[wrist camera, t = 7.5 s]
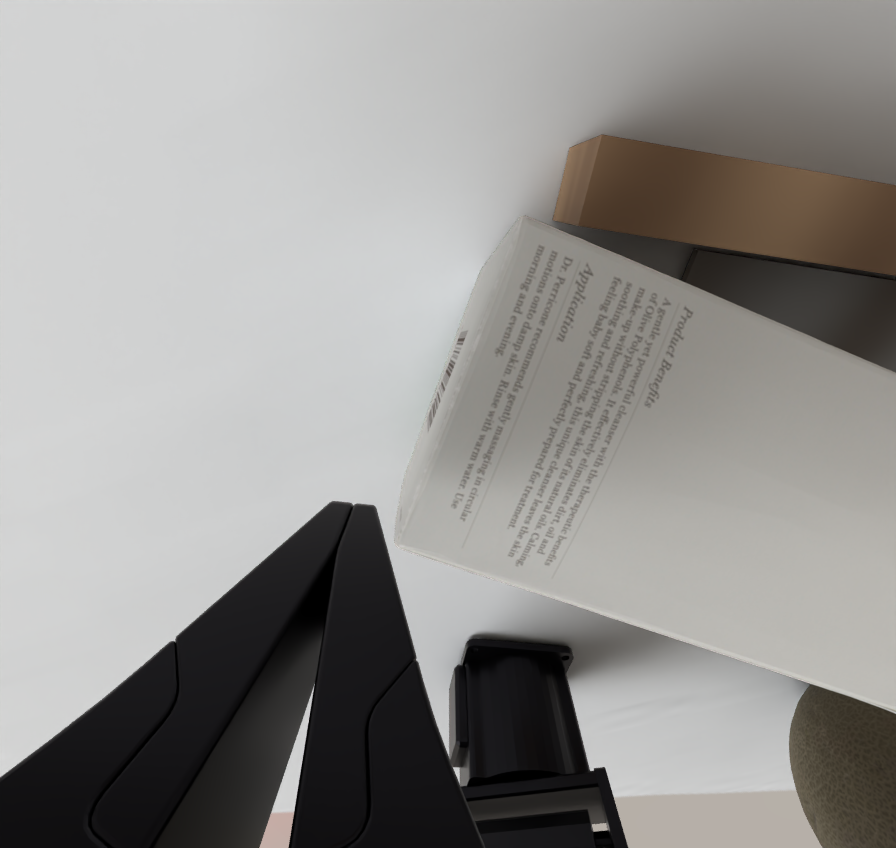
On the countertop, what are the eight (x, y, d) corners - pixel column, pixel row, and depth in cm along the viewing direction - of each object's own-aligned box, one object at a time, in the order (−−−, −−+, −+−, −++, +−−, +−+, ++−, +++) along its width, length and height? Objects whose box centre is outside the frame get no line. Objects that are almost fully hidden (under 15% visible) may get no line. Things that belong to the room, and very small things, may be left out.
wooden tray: (1130, 242, 14) (1290, 253, 11) (853, 556, 21) (912, 607, 18) (569, 148, 12) (601, 134, 10) (482, 516, 20) (487, 565, 17)
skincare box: (400, 470, 15) (741, 596, 17) (381, 562, 9) (929, 746, 11) (485, 255, 14) (845, 417, 16) (536, 181, 8) (1130, 466, 10)
